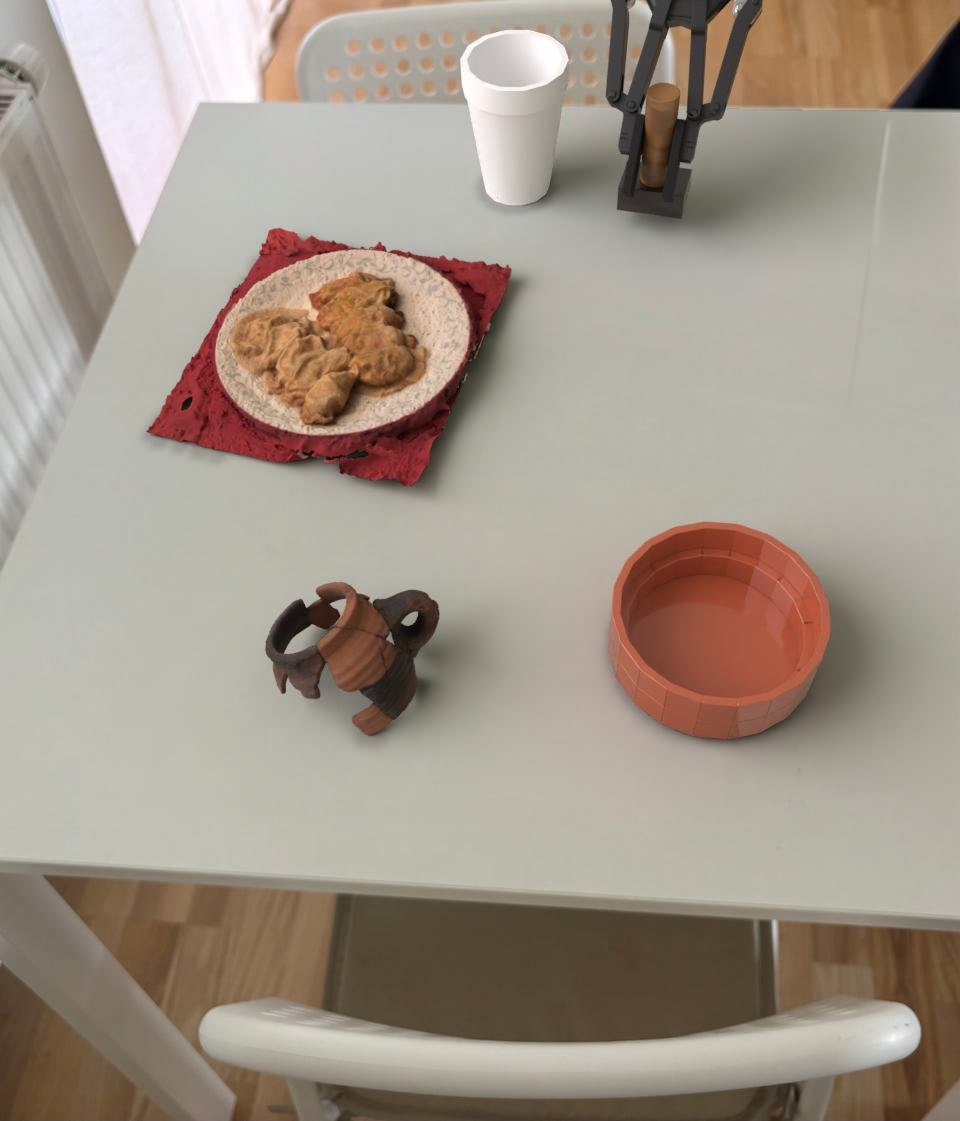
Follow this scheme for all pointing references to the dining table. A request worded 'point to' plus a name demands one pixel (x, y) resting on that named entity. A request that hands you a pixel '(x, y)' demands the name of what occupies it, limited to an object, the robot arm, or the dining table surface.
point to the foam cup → (515, 110)
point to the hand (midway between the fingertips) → (647, 196)
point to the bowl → (717, 629)
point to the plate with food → (336, 356)
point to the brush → (657, 158)
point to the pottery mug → (356, 648)
